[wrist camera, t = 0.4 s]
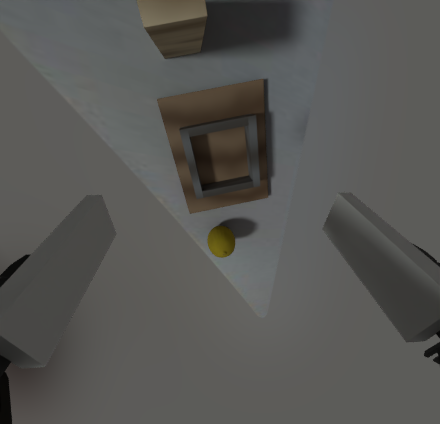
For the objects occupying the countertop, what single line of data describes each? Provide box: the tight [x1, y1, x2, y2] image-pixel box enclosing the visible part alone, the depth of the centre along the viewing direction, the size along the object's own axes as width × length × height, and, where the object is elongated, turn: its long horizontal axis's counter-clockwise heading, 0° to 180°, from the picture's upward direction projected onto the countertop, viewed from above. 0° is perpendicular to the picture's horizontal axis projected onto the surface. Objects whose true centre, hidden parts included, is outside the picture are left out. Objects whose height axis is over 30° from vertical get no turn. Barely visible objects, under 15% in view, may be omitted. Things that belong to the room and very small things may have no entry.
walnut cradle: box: [157, 79, 268, 214], centre depth 33 cm, size 20×16×4 cm
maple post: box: [137, 0, 207, 59], centre depth 20 cm, size 5×5×14 cm
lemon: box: [208, 226, 235, 258], centre depth 39 cm, size 6×6×8 cm
